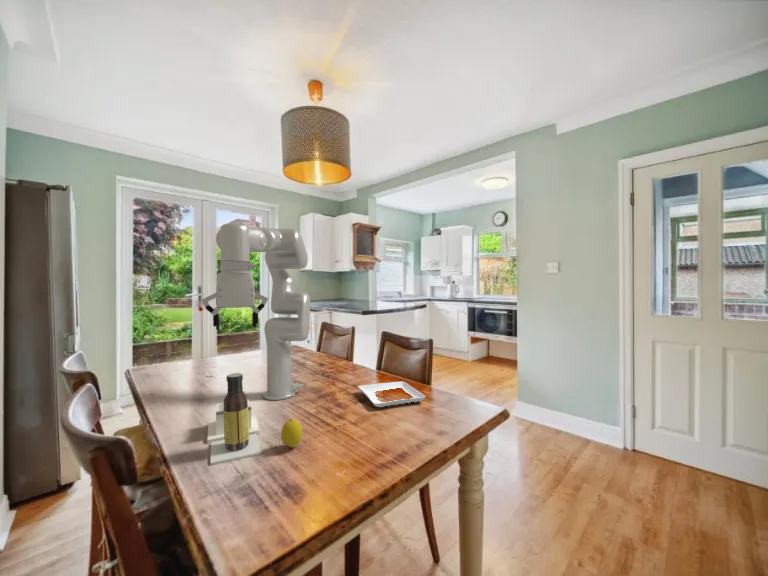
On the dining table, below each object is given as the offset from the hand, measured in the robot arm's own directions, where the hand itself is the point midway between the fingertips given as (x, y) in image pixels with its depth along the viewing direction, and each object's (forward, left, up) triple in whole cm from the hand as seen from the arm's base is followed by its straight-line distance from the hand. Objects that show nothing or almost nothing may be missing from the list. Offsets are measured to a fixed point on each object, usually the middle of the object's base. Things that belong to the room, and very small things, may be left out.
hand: (236, 327), depth 95 cm
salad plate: (-56, -12, -33) cm, 67 cm away
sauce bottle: (0, +5, -32) cm, 33 cm away
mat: (+1, +5, -33) cm, 33 cm away
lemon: (-13, +11, -33) cm, 37 cm away
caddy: (+1, -9, -33) cm, 34 cm away
